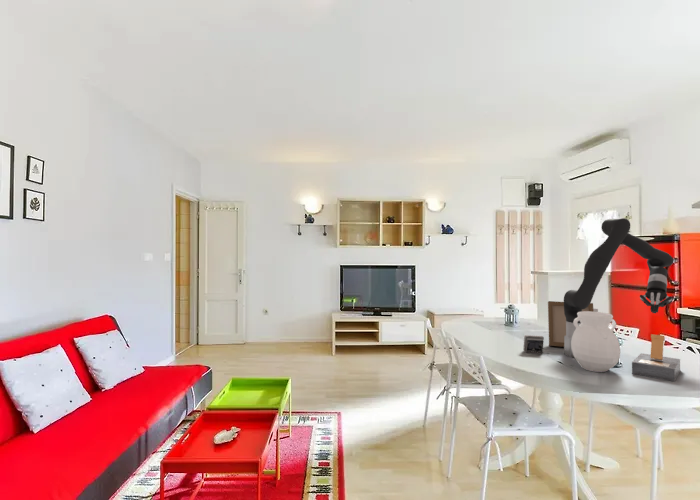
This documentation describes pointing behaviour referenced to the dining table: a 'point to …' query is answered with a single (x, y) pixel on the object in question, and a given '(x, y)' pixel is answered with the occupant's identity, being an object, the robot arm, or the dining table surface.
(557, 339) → the photo frame
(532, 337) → the electrical switch
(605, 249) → the robot arm
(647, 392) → the dining table surface
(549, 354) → the dining table surface
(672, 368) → the box
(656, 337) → the lever
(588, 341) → the white ceramic vase
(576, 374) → the dining table surface
